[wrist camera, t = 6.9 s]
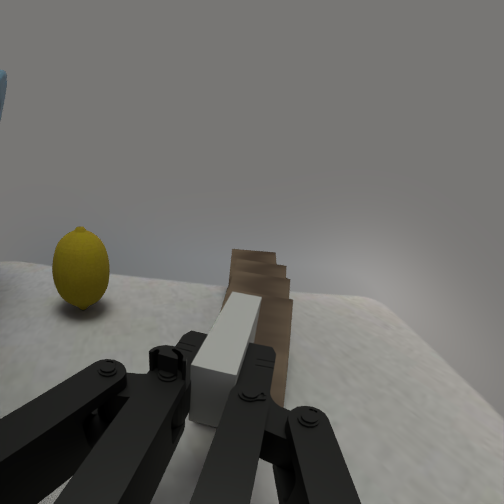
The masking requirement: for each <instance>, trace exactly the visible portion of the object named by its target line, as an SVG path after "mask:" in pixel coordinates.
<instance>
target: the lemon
mask: <svg viewBox="0 0 504 504" xmlns="http://www.w3.org/2000/svg"><path fill="white" fill-rule="evenodd" d="M52 272H53V279H54V283H55V286H56V288H57V291H58V293H59V294H60V296H61V297H62V298H63V299H64V300H65V301H66V302H68V303H70V304H72V305H74V306H77V307H78V308H80V309H81V310H85V309H86V308H87V307H88V306H89V305H92V304H94V303H96V302H97V301H98V300H99V299H101V297H102V296H103V294H104V293H105V291H106V289H107V286H108V282H109V260H108V255H107V251H106V249H105V246H104V245H103V243H102V241H101V240H100V239H99V238H98V237H97V236H96V235H95V234H93V233H92V232H89V231H86V229H85V228H84V227H76V229H75V230H74V231H72V232H69V233H68V234H66V235H65V236H64V237H63V238H62V239H61V240H60V241H59V242H58V244H57V246H56V249H55V253H54V257H53V266H52Z"/></svg>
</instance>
